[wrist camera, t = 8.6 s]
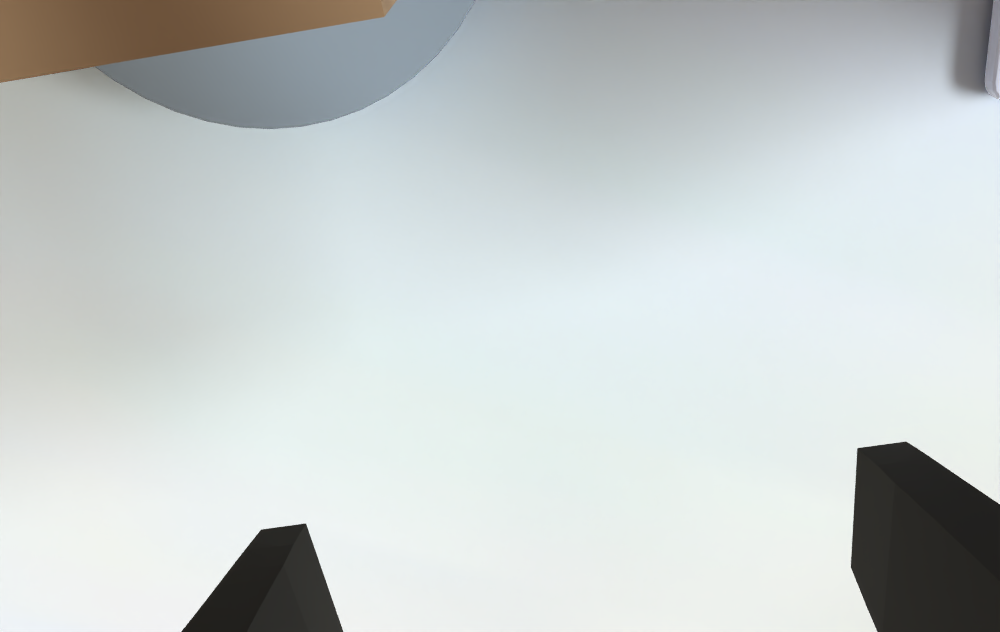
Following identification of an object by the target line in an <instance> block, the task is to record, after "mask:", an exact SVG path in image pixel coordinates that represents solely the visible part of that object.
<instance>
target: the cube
mask: <svg viewBox="0 0 1000 632" xmlns="http://www.w3.org/2000/svg"><path fill="white" fill-rule="evenodd" d="M396 1H397V0H0V83H1V82H7V81H13V80H19V79H25V78H30V77H36V76H42V75H48V74H54V73H60V72H66V71H71V70H77V69H83V68H89V67H95V66H101V65H107V64H112V63H118V62H124V61H130V60H136V59H142V58H147V57H153V56H159V55H165V54H171V53H177V52H183V51H188V50H194V49H200V48H206V47H212V46H218V45H224V44H229V43H235V42H241V41H247V40H253V39H259V38H264V37H270V36H276V35H282V34H288V33H294V32H300V31H305V30H311V29H317V28H323V27H329V26H335V25H340V24H346V23H352V22H358V21H364V20H370V19H376V18H381V17H385V16H386V14H387V13H388V12H389V10H390V9H391V7H392V6H393V5H394V3H395V2H396Z"/></svg>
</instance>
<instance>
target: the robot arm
mask: <svg viewBox="0 0 1000 632" xmlns="http://www.w3.org/2000/svg"><path fill="white" fill-rule="evenodd" d="M985 88H986V90H987V91H988V93H989V95H991V96H993V97H995V98H997V99H999V100H1000V0H994V1H993V10H992V19H991V27H990V36H989V45H988V54H987V62H986V71H985ZM851 568H852V571H853V573H854V576H855V578H856V581H857V583H858V586H859V588H860V591H861V593H862V596H863V598H864V601H865V603H866V606H867V608H868V611H869V613H870V615H871V617H872V620H873V622H874V624H875V627H876V629H877V631H878V632H1000V504H998V503H997V502H995V501H994V500H992V499H991V498H989V497H988V496H986V495H985V494H983V493H982V492H980V491H979V490H978V489H976V488H975V487H973V486H972V485H970V484H969V483H967V482H966V481H964V480H963V479H961V478H960V477H958V476H957V475H955V474H954V473H953V472H951V471H950V470H948V469H947V468H945V467H944V466H942V465H941V464H939V463H938V462H936V461H935V460H933V459H932V458H930V457H929V456H927V455H926V454H924V453H923V452H921V451H920V450H918V449H917V448H915V447H914V446H912V445H911V444H909V443H908V442H900V443H893V444H885V445H878V446H871V447H863V448H858V449H857V467H856V485H855V503H854V521H853V539H852V557H851ZM182 632H343V630H342V627H341V624H340V621H339V618H338V615H337V612H336V609H335V607H334V604H333V601H332V598H331V595H330V592H329V589H328V586H327V583H326V580H325V578H324V575H323V572H322V569H321V566H320V563H319V560H318V557H317V554H316V551H315V549H314V546H313V543H312V540H311V537H310V534H309V531H308V528H307V525H306V524H299V525H292V526H285V527H277V528H270V529H263V530H261V531H260V532H259V533H258V534H257V536H256V537H255V538H254V539H253V541H252V542H251V543H250V544H249V546H248V547H247V548H246V549H245V551H244V552H243V553H242V555H241V556H240V557H239V558H238V560H237V561H236V562H235V564H234V565H233V566H232V567H231V569H230V570H229V571H228V573H227V574H226V575H225V577H224V578H223V579H222V580H221V582H220V583H219V584H218V586H217V587H216V588H215V590H214V591H213V592H212V593H211V595H210V596H209V597H208V599H207V600H206V601H205V602H204V604H203V605H202V606H201V608H200V609H199V610H198V611H197V613H196V614H195V615H194V617H193V618H192V619H191V620H190V622H189V623H188V624H187V625H186V627H185V628H184V629H183V630H182Z"/></svg>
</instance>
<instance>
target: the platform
mask: <svg viewBox="0 0 1000 632" xmlns="http://www.w3.org/2000/svg"><path fill="white" fill-rule="evenodd" d="M474 2H475V0H397V1H396V2H395V3H394V5H393V6H392V7H391V9H390V10H389V12H388V13H387V14H386V16H385V17H381V18H376V19H370V20H364V21H358V22H352V23H346V24H340V25H335V26H329V27H323V28H317V29H311V30H305V31H300V32H294V33H288V34H282V35H276V36H270V37H264V38H259V39H253V40H247V41H241V42H235V43H229V44H224V45H218V46H212V47H206V48H200V49H194V50H188V51H183V52H177V53H171V54H165V55H159V56H153V57H147V58H142V59H136V60H130V61H124V62H118V63H112V64H107V65H101V66H95V67H96V68H98V69H99V70H101V71H102V72H103V73H105V74H106V75H107V76H109V77H110V78H111V79H113V80H114V81H116V82H118V83H120V84H121V85H123V86H125V87H126V88H128V89H130V90H132V91H133V92H135V93H137V94H138V95H140V96H142V97H144V98H146V99H148V100H150V101H153V102H155V103H157V104H159V105H162V106H164V107H166V108H168V109H171V110H173V111H175V112H178V113H182V114H185V115H188V116H191V117H195V118H198V119H201V120H204V121H208V122H213V123H219V124H224V125H230V126H235V127H245V128H263V129H276V128H289V127H302V126H307V125H312V124H316V123H321V122H326V121H330V120H334V119H337V118H339V117H342V116H345V115H348V114H351V113H353V112H356V111H359V110H361V109H363V108H365V107H367V106H369V105H371V104H373V103H375V102H377V101H379V100H381V99H382V98H384V97H386V96H388V95H390V94H391V93H392V92H394V91H395V90H397V89H398V88H399V87H401V86H402V85H404V84H405V83H406V82H408V81H409V80H411V79H412V78H413V77H414V76H416V75H417V74H418V73H419V72H420V71H421V70H422V69H423V68H424V67H425V66H426V65H427V64H428V63H429V62H430V61H431V60H432V59H434V58H435V57H436V56H437V55H438V53H439V52H440V51H441V50H442V48H443V47H444V46H445V45H446V43H447V42H448V41H449V40H450V38H451V37H452V36H453V35H454V33H455V32H456V31H457V30H458V28H459V26H460V25H461V23H462V22H463V20H464V18H465V17H466V15H467V13H468V12H469V10H470V8H471V7H472V5H473V3H474Z"/></svg>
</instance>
